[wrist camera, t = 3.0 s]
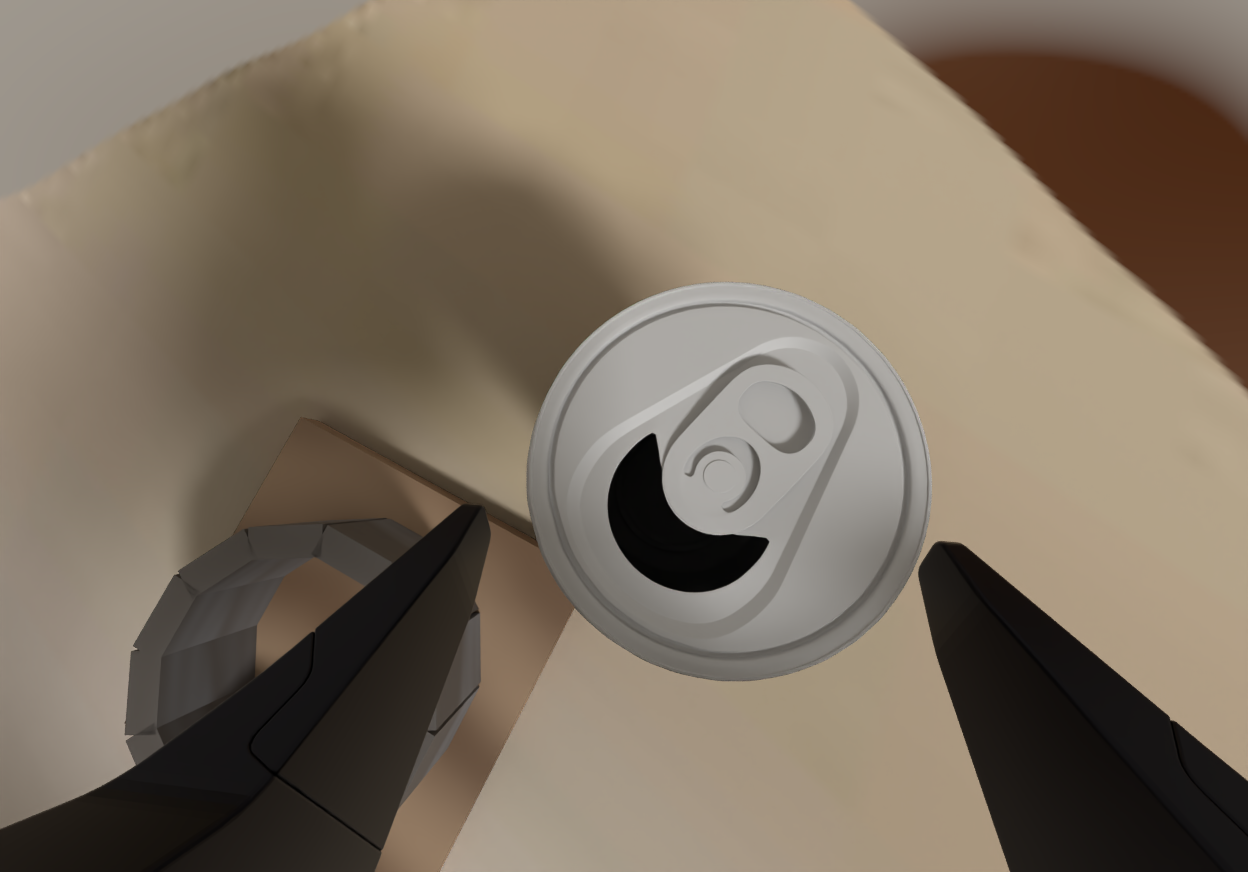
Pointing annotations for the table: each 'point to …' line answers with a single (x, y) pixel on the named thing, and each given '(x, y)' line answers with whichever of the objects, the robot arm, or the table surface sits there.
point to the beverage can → (729, 481)
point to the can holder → (318, 586)
